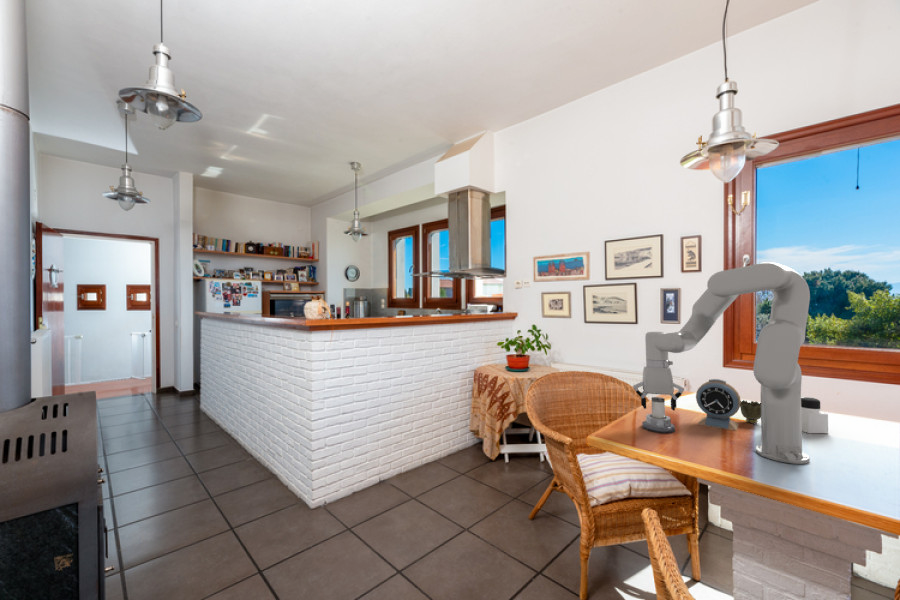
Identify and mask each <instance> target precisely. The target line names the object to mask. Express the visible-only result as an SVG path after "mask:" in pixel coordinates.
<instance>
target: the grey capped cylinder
mask: <svg viewBox="0 0 900 600" xmlns="http://www.w3.org/2000/svg"><path fill="white" fill-rule="evenodd" d="M665 400H666V399H665V398H664V397H659V396H652V397H651V414H652V418H656V419H665V415H666V404H665V402H666V401H665Z"/></svg>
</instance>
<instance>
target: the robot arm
mask: <svg viewBox="0 0 900 600" xmlns="http://www.w3.org/2000/svg"><path fill="white" fill-rule="evenodd" d="M706 287H707V288H706V290H705V291H704V292H703V293H702V294H701V295H700V297H699V298H698V299H697V300H696V301H695V302H694V304H693V305H692V309H691V310H692V313H691V316H690V318H689V319H688V320H687V322H686V323H685V324H684V326H683V327H682V328H681V329H680V330H679V331H674V332H664V331H647V332H646V333H645V334H644V335H645V340H644V341H645V366H643V370H642V381H640V382H637V383H636V384H634V385H632V388H633V389H634V391H635V393H636V394H637V395H638V396H639V397H640V401H641V402H640V404H641V405H640V406H641V407H642V408H643V409H644V410H646V409H647V399H646V396H647V395H664V396H666V395H669V396H670V397H671V398H670V409H671V410H672V411H676V409H677V400H678V399H679V398H680V397H682V394H683V393H684V391H685V387H684V386H683V387H682V386H680V385H679V384H676V383H674V380H673V379H674V378H673V374H672V373H673V372H672V369H671V367H670V366H672V365H673V364H674V362H673V361H671V360H669V353H672V354H679V353H684V352H687V351H690V350H692V349H694V348H695V347H697V345H698V344H699V342H701V341H702V340H703V338H705V336H706V335H707V333H709V331H710V330H711V328H713V326H714V325H715V323H716V322H717V320H718V319H719V317H721V316H722V314H723V313H724V312H725V311H726V310H727V309H728V308H729V306H731V305H732V303H733V302H734V301H735V300H736V299H737V298H738V297H739V295H745V294H751V293H752V294H753V293H758V292H765V291H771V292H772V294H773V295H772V296H773V299H772V303H771V308H770V309H771V311H770V315H769V316H770V317H769V321H768V323H767V324H765V325H764V326H763V327H762V329H761V330H760V332H759V334H758V337H757V342H756V343H757V344H756V349H755V350H756V351H755V355H754V362H753V369H752V370H753V376H754V378H755V380H756V382H758V383H759V384H760V403H761V418H760V429H761V430H760V431H761V444H760V445H756V447H755V453H757V454H758V455H759V456H762V457H763V458H766V459H768V460H773V461H774V462H775V461H776V462H780V463H786V464H792V465H793V464H795V465H801V464H803V465H804V464H807V463H810V456H809V455H808V454H806V453H805V452H803V434H802V433H803V431H802V424H801V397H802V379H803V377H802V375H803V374H802V368H801V366H800V364H799V363H798V360H799V355H800V350H801V346H802V345H803V344H804V343H805V341H806V340H805V339H806V330H807V329H806V328H807V321H808V317H809V307H810V301H811V294H810V286H809V285H808V283H807V281H806V280H805V278H804V277H803V276H802V275H801V274H800V273H799V272H797V271H795V270H794V269H792V268H790V267H788V266H786V265H784V264H783V265H782V264H780V263H776V262H770V261H769V262H767V261H766V262H761V263H760V262H759V263H755V264H754V263H753V264H750V265H746V266H741V267H735V268H730V269H725V270H720V271H717V272H715V273H714V274H712V275H710V277H709V279H708V280H707V285H706ZM641 387H642V392H641V391H640V390H639V388H641ZM675 388H676V389H677V390H678V391H677V392H676V393H674V390H675Z"/></svg>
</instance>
